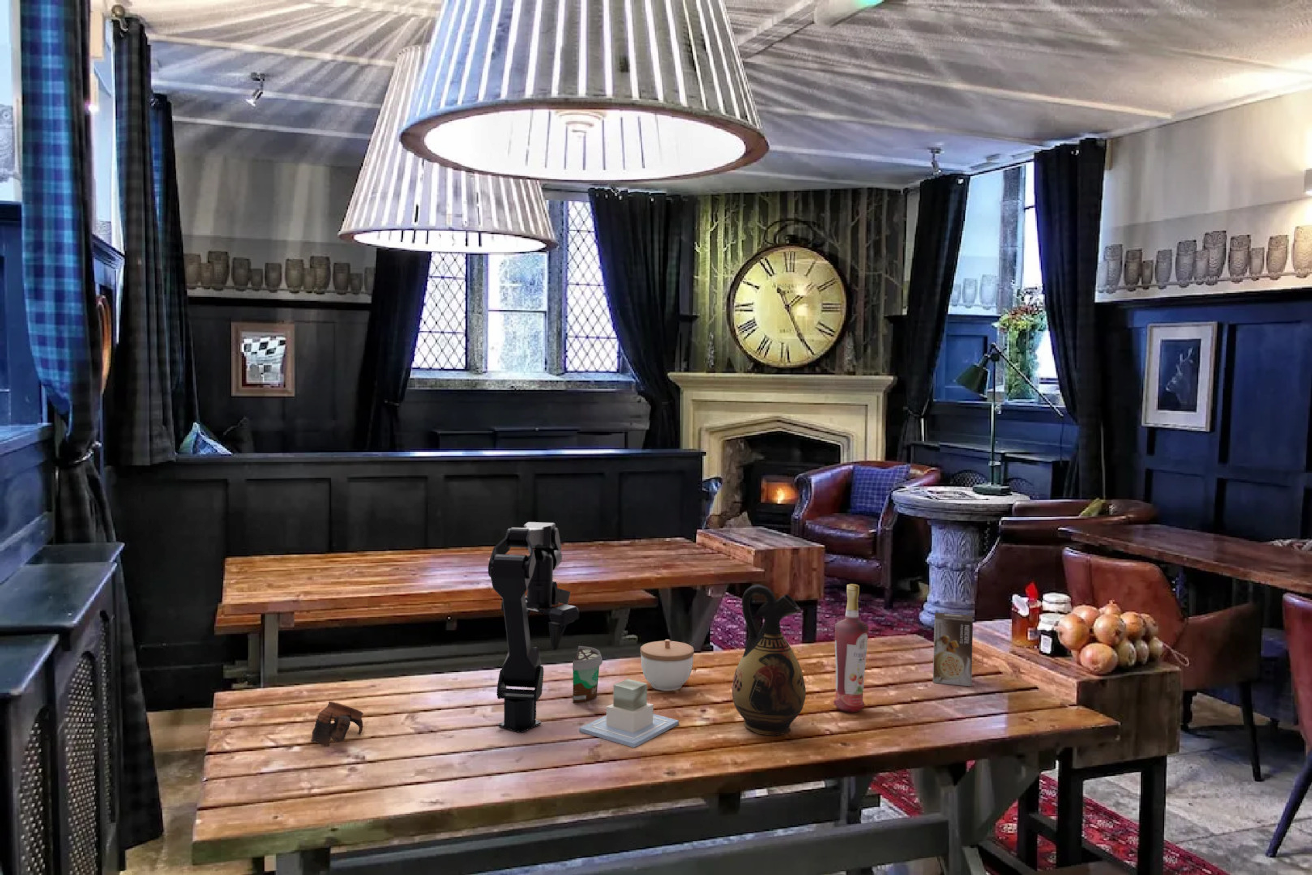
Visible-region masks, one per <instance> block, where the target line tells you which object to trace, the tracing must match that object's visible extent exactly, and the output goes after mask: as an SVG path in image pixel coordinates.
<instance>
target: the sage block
mask: <svg viewBox="0 0 1312 875" xmlns="http://www.w3.org/2000/svg"><path fill="white" fill-rule="evenodd" d="M612 693H613V698H612V700H613V703H612V704H613V706H615V707H618V708H622V709H626V710H630V711H634V710H637V709H639V708H641V707H643V706H645V705H647V703H648V683H646V682H642V681H638V680H634V679H630V678H627V679H624V680H622V681H620V682H618V683H615V684H613V692H612Z"/></svg>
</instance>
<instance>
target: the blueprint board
mask: <svg viewBox="0 0 1312 875" xmlns="http://www.w3.org/2000/svg"><path fill="white" fill-rule="evenodd" d="M605 714H606V715H603V716H602V717H600V718H598V719H595V720H594V721H591V722H589V723H587V724H585V725H583V726H580V727H579V730H578V731H579V733H583V734H587V735H590V736H593V737H597V738H600V739H604V740H607V741H610V742H613V743H617V744H621V745H624V746H628V747H631V748H636V747H638V746H640V745H642V744H644V743H646V742H649V741H651V739H653V738H655V737H657V736H660V735H662V734H663V733H665V732H667V731H668V730H670V729H672V728H674V727H676V726H678V725H679V722H680V721H679V720H678V719H674V718H670V717H667V716H663V715H659V714H655V713H654V704H653V703H648V702H647V705H645V706H643V707H641V708H639V709H637V710H634V711H630V710H626V709H622V708H618V707H615V706H613V703H611V704H610V705H607V706H606V713H605Z"/></svg>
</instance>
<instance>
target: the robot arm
mask: <svg viewBox="0 0 1312 875" xmlns="http://www.w3.org/2000/svg"><path fill="white" fill-rule="evenodd" d="M511 548H518V549H519V548H523V549H524V548H525V549H526V550H528V553H529V555H527V554H511V553H509V554H507V553H508V552H509V551H510V550H511ZM561 550H562V544H561V538H560V532H559V527H556V523H555V522H536V521H528V522H526V523H525V524H523V527H511V528H508V529H507V530H506V532H505V536H504V538H503V539H501V541H499V542H498V543H497V544H496V545H495V546H494V547H493V548H492V552H491V555H490V559H489V561H488V565H487V566H488V567H487V574H488V577H490V580H491V586H492V589H493V590H494V591H495V592H496V593H497V595H499V597H501V599H502V601H501V603H500V604H501V605H500V606H501V608H500V611H501V612H503V616H504V626H505V631H506V640H507V642H506V643H507V648H508V650H507V653H506V654H507V655H506V656H505V657H506V658H505V660H504V662H503V664H502V666H501V669H500V670H499V674H498V679H497V685H496V686H497V687H496V696H497V700H500V699H502V700H503V712H504V713H503V721H501V722H499V723H498V727H501V728H502V729H503V728H505V729H507V730H509V731H510V730H511V731H512V732H513V731H514V732H516V733H524V732H526V731H528V730H531V729H533V728H535V727H537V726H539V725H541V724H542V722H541V720H537V702H538V700H539V699H540V698H541V696H542V695H543V694H542V693H543V683H544V675H545V674H544V673H545V672H544V670H545V669H544V665H542V663H541V662H542V661H541V654H540V653H541V652H540V649H539V647H537V646H535V647H534V646H532V645H531V634H530V628H529V627H530V626H529V616H530V614H531V612H533V613H538V614H542V615H548V618H549V620H550V621H549V622H547V625H548V631H549V638H550V645H551V648H552V651H557V650H558V648H559V645H560V642H561V640H562V637H563V634H564V632H565V630H566V628H567V626H568V625H569V624H571V623H574V622H575V621H577V620H580V611H579V608H578V607H577V606H575V605H570V604H569V600H570V596H571V591H569V590H566V589H563V588H558V583H557V581H555V580H554V578H553V577H554V574H553V572H554V570H555V569H557V568H558V566H560V564H561V563H562V559H563V553H562V551H561ZM559 604H561V605H559ZM556 605H558V606H556ZM508 687H511V688H508ZM512 687H513V688H512ZM520 688H521V689H520ZM522 688H523V689H522ZM524 688H526V689H524ZM527 688H531V689H527Z"/></svg>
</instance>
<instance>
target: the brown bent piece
mask: <svg viewBox="0 0 1312 875" xmlns="http://www.w3.org/2000/svg"><path fill="white" fill-rule="evenodd" d="M363 715H364V712H363V711H361V710H358V709H356V708H354V707H350V706H349V705H345V704H342V703H339V702H334V701H328V705H327V706H326V707H324V708H323V709H322V710H321V711H320V712H319V713H318V714H317V718H316V721H315V725H314V728H313V729H312V731H311V733H312V734H311V741H313V742H315V743H317V744H319V745H322V746H325V747H329V746H330V741H331V739H332V741H333V742H336V743H341V742H344V741H345V739H346V736H347V732H348V730H349V728H350V726H351V723H353V724H355V725H356V726H357V727H358V734H359V735H361V734H362V733H363V729H364V721H363V719H362V717H363ZM332 720H333V721H334V722H332Z"/></svg>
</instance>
